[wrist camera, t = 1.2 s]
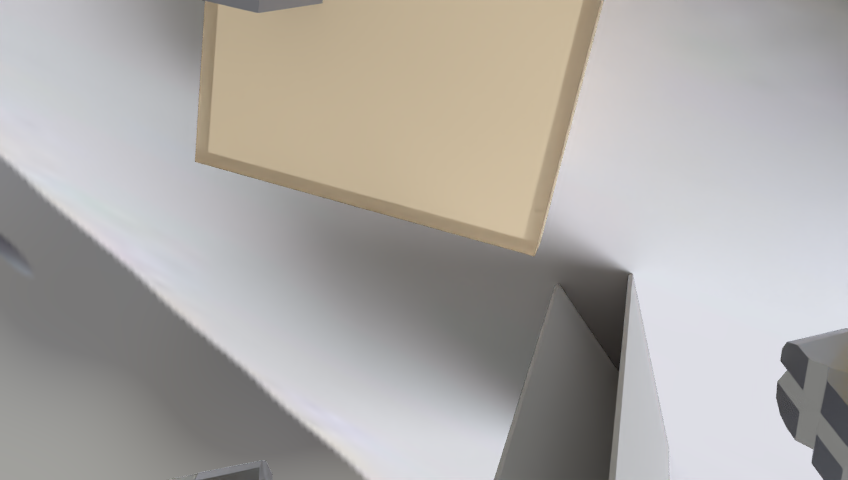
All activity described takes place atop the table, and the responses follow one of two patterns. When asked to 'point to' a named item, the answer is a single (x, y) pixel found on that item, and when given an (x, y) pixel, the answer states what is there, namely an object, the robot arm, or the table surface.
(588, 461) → the brochure
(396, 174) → the lid
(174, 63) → the table surface
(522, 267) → the table surface
